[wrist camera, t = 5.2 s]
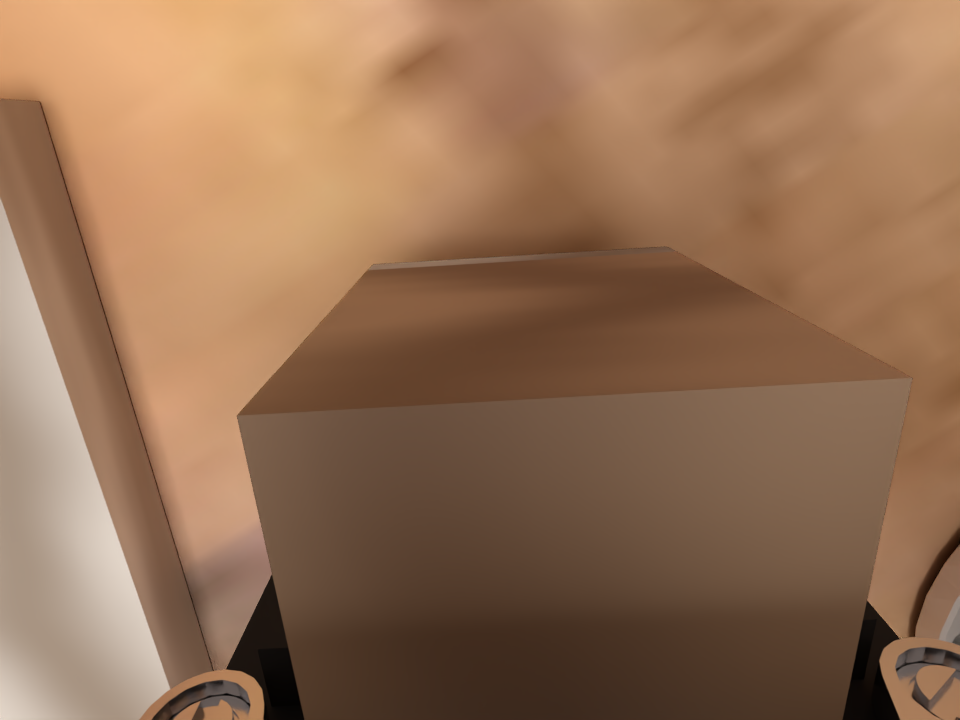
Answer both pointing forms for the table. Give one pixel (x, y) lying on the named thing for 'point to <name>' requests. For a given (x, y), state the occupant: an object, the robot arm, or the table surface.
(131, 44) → the table surface
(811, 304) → the table surface
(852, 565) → the block
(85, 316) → the board
